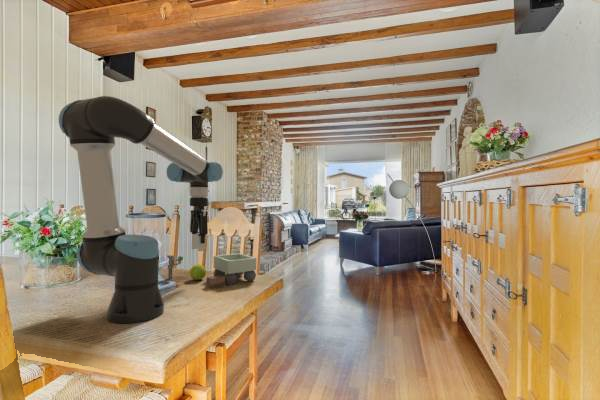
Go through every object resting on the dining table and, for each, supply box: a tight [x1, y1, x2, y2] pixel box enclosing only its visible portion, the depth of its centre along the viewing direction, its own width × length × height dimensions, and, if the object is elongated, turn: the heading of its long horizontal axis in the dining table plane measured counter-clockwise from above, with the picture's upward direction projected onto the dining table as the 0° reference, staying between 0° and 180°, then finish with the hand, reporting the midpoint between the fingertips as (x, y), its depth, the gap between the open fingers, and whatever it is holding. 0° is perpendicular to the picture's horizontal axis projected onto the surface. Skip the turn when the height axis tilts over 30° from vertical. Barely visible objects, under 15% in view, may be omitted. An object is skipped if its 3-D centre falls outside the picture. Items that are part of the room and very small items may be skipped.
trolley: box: [213, 253, 257, 285], centre depth 140 cm, size 15×14×10 cm
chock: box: [206, 275, 226, 290], centre depth 129 cm, size 4×6×4 cm, turn 129°
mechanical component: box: [166, 254, 184, 280], centre depth 141 cm, size 3×10×10 cm, turn 89°
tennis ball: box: [189, 264, 207, 281], centre depth 139 cm, size 7×7×7 cm
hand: (198, 249), depth 139 cm, fingers open, 7 cm apart
